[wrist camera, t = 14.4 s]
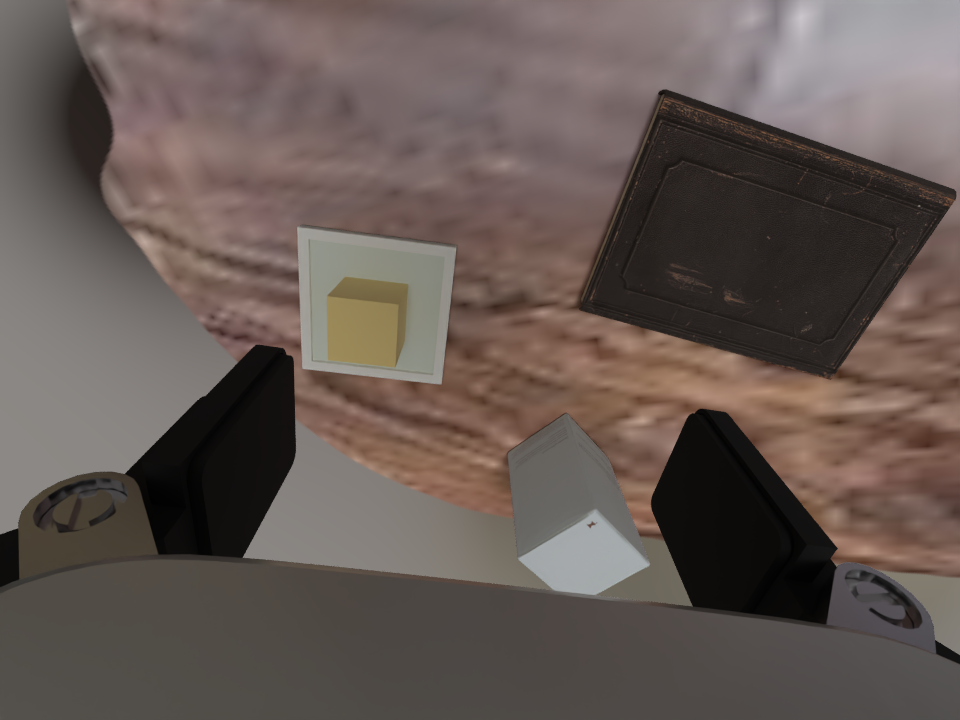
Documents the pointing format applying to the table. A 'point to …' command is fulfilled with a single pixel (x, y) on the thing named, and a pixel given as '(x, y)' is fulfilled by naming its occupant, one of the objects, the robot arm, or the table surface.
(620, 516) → the supplement box
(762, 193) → the hardcover book
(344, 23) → the table surface
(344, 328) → the ochre cube
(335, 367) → the mat
